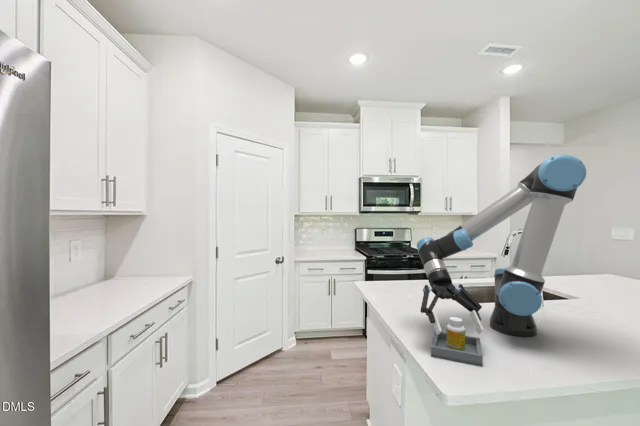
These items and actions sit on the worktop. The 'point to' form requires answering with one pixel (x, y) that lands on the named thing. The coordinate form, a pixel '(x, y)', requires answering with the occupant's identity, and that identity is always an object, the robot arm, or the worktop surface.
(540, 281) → the robot arm
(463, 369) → the worktop surface
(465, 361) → the tray
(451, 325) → the supplement bottle
